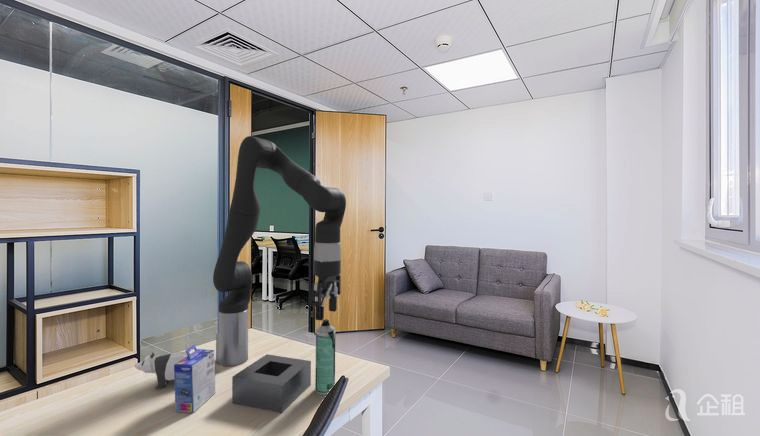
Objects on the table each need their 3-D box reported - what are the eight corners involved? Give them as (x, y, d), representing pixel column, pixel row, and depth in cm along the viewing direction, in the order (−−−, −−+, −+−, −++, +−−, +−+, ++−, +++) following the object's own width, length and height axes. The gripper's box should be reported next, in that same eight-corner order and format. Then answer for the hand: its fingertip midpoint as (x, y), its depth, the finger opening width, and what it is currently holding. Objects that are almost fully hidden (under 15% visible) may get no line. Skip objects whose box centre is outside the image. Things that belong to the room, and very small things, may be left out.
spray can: (338, 387, 100) (338, 318, 99) (329, 396, 94) (329, 324, 94) (321, 383, 101) (321, 316, 101) (311, 393, 96) (312, 322, 96)
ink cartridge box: (197, 391, 96) (197, 340, 96) (216, 392, 96) (216, 341, 96) (172, 412, 86) (172, 354, 86) (193, 413, 86) (193, 356, 86)
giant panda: (195, 376, 105) (195, 345, 105) (192, 384, 100) (192, 352, 100) (138, 384, 100) (138, 351, 100) (132, 393, 95) (132, 359, 95)
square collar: (232, 402, 91) (232, 376, 91) (266, 376, 105) (266, 354, 105) (281, 413, 86) (282, 385, 86) (310, 384, 101) (310, 360, 101)
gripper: (326, 254, 105) (325, 307, 105) (302, 260, 91) (301, 321, 92) (349, 256, 103) (348, 309, 103) (328, 262, 89) (327, 324, 89)
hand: (326, 315), depth 97 cm, fingers open, 8 cm apart
